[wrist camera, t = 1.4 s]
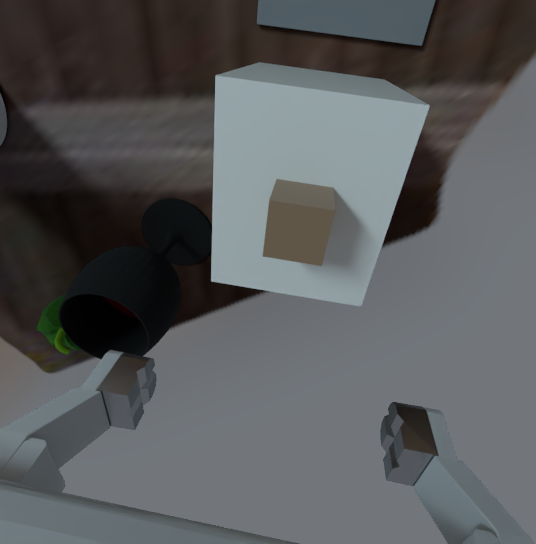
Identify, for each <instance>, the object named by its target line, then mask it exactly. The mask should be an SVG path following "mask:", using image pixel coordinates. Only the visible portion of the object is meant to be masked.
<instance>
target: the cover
mask: <svg viewBox="0 0 536 544" xmlns="http://www.w3.org/2000/svg"><path fill="white" fill-rule="evenodd" d="M429 106H430V105H428V104H426V103H425V102H423V101H421V100H419V99H418V98H416V97H414V96H412V95H411V94H409V93H407V92H405V91H404V90H402V89H400V88H398V87H397V86H395V85H393V84H391V83H389V82H388V81H386V80H384V79H376V78H369V77H362V76H354V75H347V74H340V73H333V72H325V71H318V70H311V69H304V68H296V67H289V66H282V65H275V64H267V63H260V62H259V63H256V64H253V65H249V66H246V67H242V68H239V69H236V70H232V71H229V72H225V73H222V74H219V75H216V79H215V124H214V169H213V214H212V259H211V281H212V282H218V283H224V284H230V285H236V286H242V287H248V288H254V289H260V290H266V291H271V292H278V293H283V294H289V295H295V296H302V297H307V298H313V299H319V300H325V301H331V302H337V303H343V304H349V305H354V306H360V307H361V306H362V303H363V300H364V297H365V294H366V291H367V288H368V285H369V282H370V279H371V276H372V274H373V271H374V268H375V265H376V262H377V259H378V256H379V253H380V250H381V247H382V244H383V241H384V238H385V235H386V232H387V230H388V227H389V224H390V221H391V218H392V215H393V212H394V209H395V206H396V203H397V200H398V197H399V194H400V191H401V189H402V186H403V183H404V180H405V177H406V174H407V171H408V168H409V165H410V162H411V159H412V156H413V153H414V150H415V147H416V145H417V142H418V139H419V136H420V133H421V130H422V127H423V124H424V121H425V118H426V115H427V112H428V109H429Z"/></svg>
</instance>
